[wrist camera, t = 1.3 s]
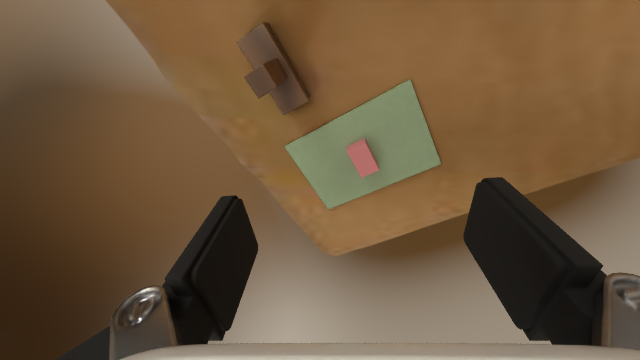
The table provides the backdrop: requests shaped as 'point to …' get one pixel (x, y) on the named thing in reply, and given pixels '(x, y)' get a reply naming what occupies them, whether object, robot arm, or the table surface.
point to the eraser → (362, 158)
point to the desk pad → (383, 139)
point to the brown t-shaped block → (272, 69)
